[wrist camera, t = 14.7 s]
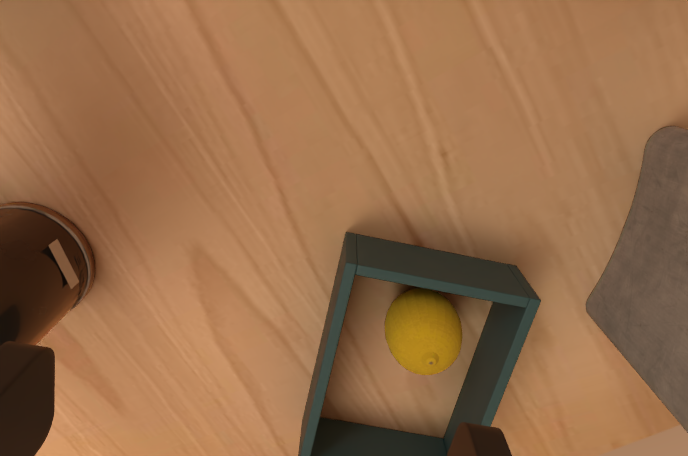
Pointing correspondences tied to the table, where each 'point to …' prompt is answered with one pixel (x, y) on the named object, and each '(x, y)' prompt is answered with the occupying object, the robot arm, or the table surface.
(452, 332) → the lemon
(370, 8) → the table surface
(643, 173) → the hip flask
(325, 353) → the bin
